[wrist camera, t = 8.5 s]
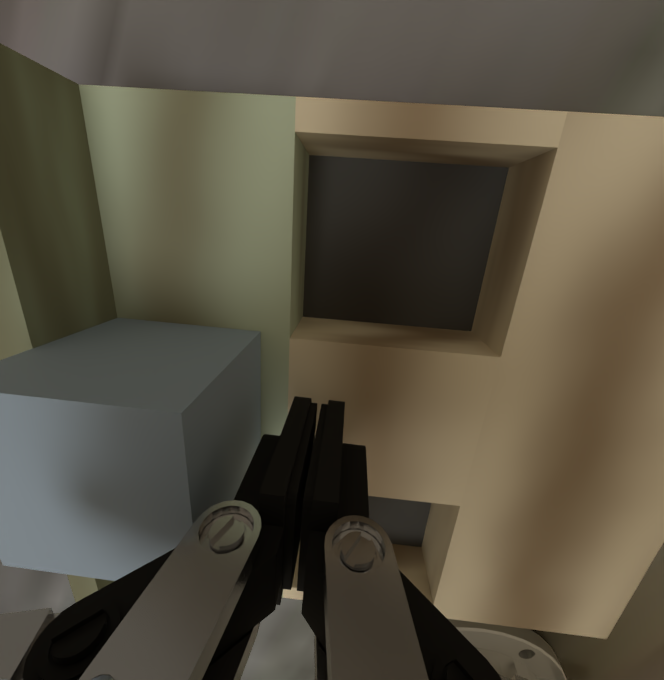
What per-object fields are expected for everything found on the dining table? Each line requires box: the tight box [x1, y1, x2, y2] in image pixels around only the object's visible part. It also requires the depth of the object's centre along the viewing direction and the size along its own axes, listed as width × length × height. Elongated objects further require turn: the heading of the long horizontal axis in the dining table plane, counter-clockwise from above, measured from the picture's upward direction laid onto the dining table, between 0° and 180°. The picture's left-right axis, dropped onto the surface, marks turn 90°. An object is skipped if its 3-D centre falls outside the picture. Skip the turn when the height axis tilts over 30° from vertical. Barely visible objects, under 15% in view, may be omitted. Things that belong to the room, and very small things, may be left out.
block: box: [0, 318, 261, 581], centre depth 9 cm, size 5×5×5 cm
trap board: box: [0, 44, 664, 639], centre depth 11 cm, size 22×20×6 cm
